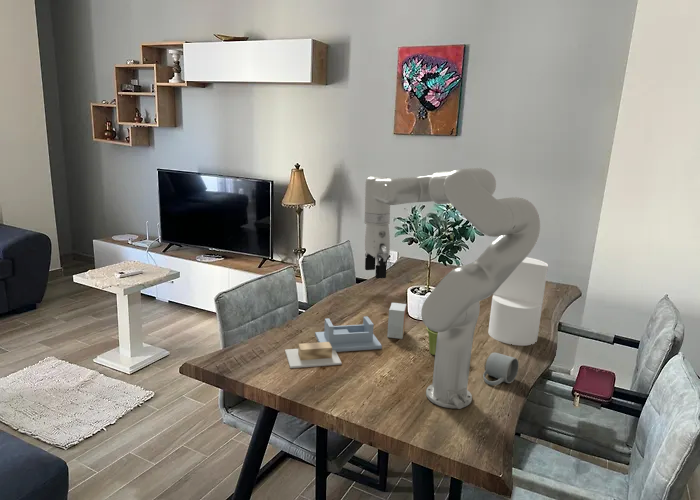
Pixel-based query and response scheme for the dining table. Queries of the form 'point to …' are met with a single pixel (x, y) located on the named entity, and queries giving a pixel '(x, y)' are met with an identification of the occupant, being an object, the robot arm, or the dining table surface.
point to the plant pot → (432, 340)
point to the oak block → (314, 350)
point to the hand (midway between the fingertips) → (375, 273)
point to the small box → (396, 320)
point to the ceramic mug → (500, 368)
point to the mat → (297, 363)
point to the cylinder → (519, 304)
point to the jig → (349, 336)
